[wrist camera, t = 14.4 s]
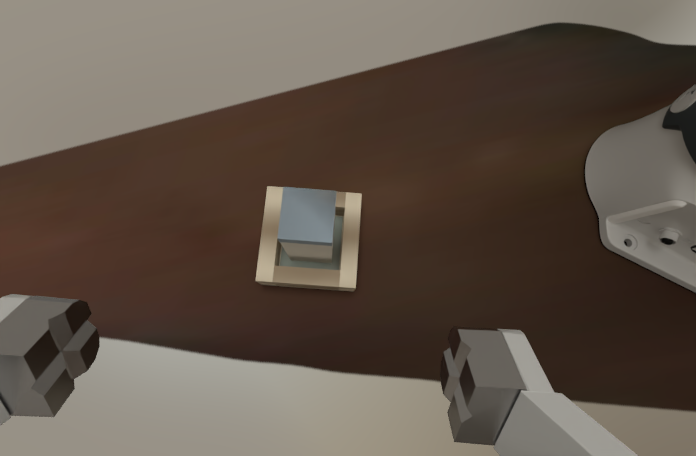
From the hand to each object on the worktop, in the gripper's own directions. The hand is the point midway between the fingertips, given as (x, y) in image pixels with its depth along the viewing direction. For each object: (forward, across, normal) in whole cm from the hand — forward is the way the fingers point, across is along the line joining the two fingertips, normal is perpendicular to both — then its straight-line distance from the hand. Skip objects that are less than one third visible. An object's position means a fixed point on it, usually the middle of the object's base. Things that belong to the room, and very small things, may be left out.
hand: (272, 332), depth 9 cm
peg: (+26, +1, +15) cm, 30 cm away
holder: (+26, +1, +15) cm, 30 cm away
